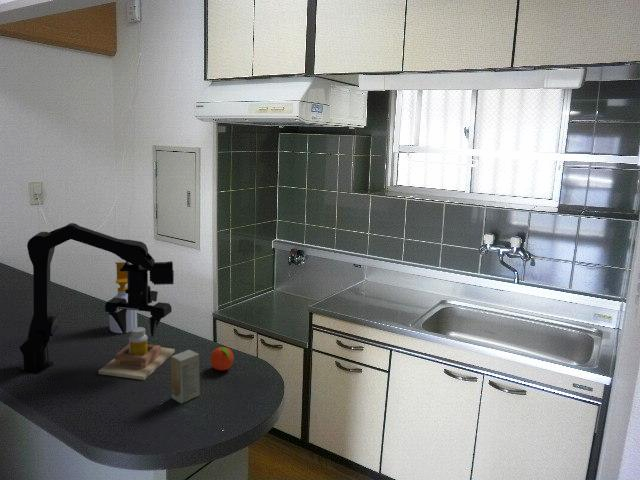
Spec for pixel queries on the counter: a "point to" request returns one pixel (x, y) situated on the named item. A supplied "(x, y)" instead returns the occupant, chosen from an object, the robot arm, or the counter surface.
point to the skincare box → (185, 376)
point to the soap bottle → (130, 314)
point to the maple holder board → (136, 362)
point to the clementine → (221, 358)
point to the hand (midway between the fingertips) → (138, 334)
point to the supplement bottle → (138, 341)
